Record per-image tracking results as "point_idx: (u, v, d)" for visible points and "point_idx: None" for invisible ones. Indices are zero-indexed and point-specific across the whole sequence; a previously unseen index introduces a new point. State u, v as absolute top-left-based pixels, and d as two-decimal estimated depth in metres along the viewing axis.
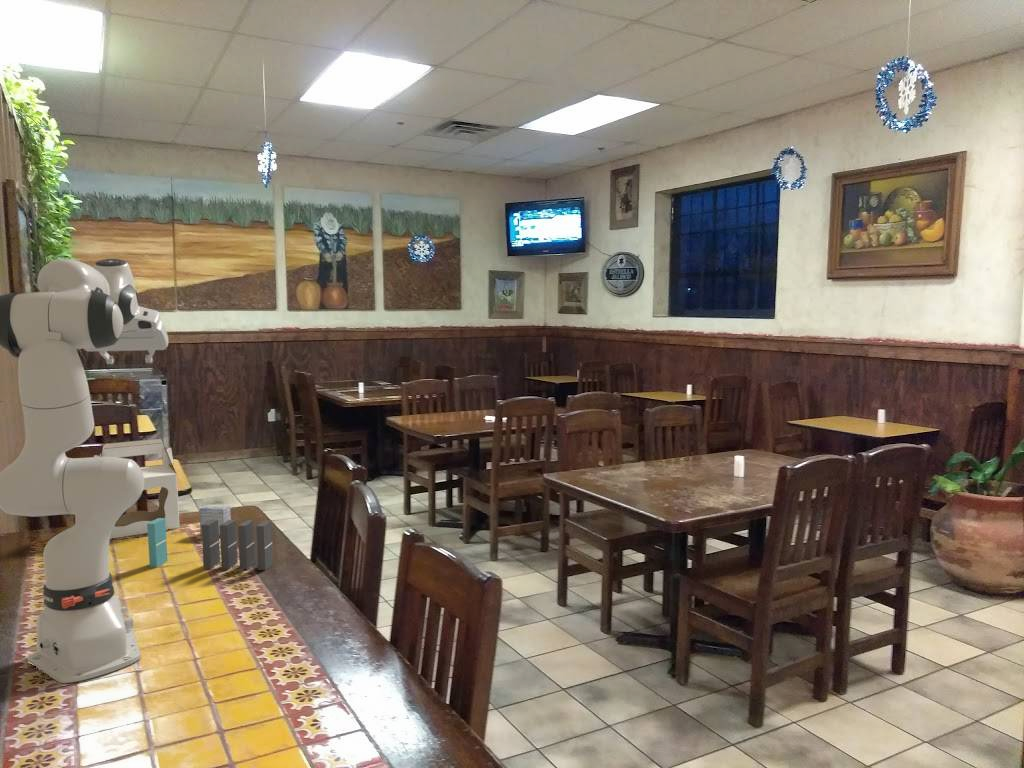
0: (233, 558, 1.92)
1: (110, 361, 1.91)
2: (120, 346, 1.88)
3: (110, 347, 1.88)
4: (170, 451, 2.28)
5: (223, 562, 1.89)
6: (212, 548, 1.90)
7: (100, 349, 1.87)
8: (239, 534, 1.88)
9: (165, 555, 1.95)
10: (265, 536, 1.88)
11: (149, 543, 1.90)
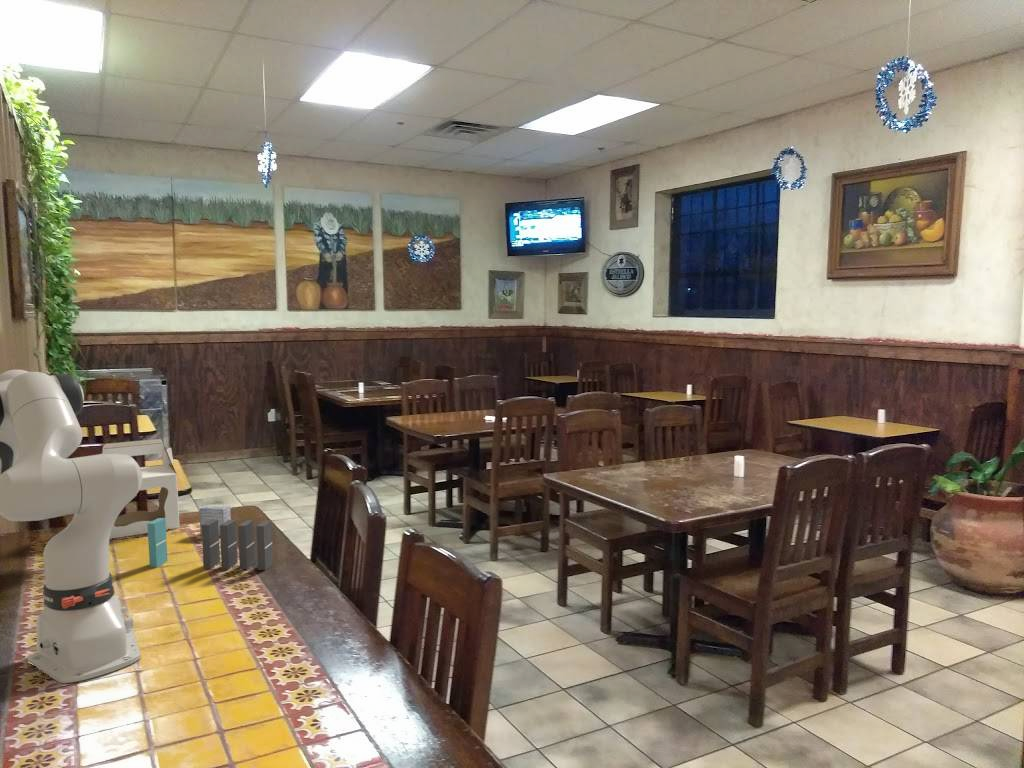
0: (233, 558, 1.92)
1: None
2: None
3: None
4: (170, 451, 2.28)
5: (223, 562, 1.89)
6: (212, 548, 1.90)
7: None
8: (239, 534, 1.88)
9: (165, 555, 1.95)
10: (265, 536, 1.88)
11: (149, 543, 1.90)
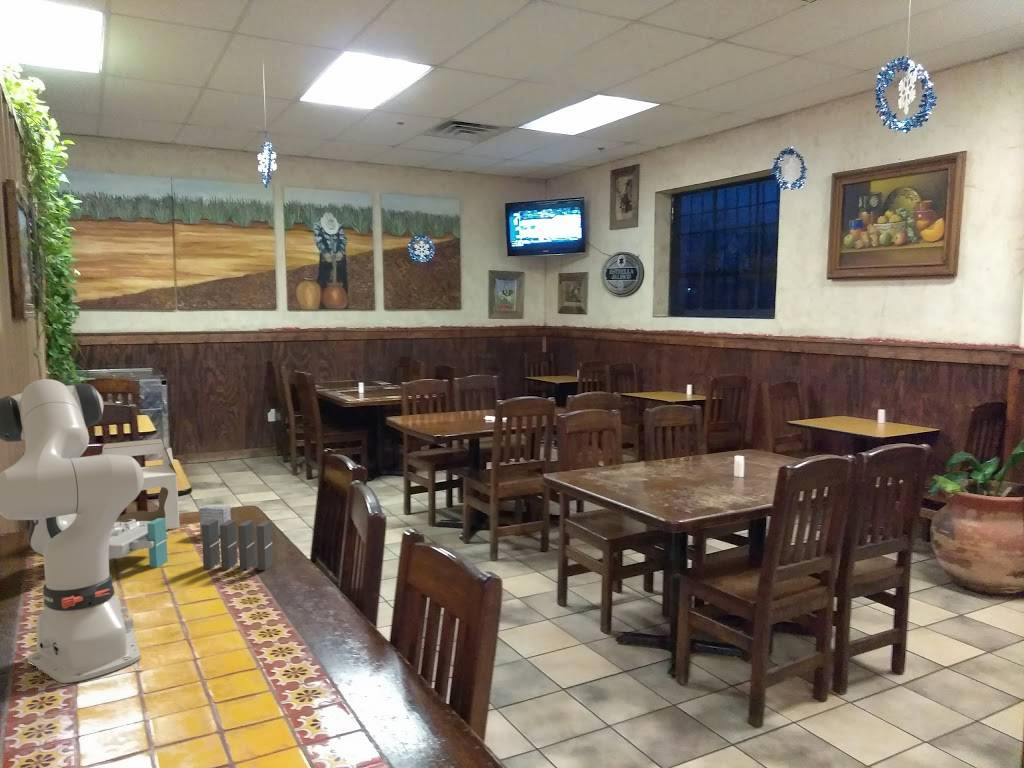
0: (233, 558, 1.92)
1: (150, 540, 1.90)
2: (135, 534, 1.92)
3: (131, 537, 1.89)
4: (170, 451, 2.28)
5: (223, 562, 1.89)
6: (212, 548, 1.90)
7: (127, 540, 1.87)
8: (239, 534, 1.88)
9: (165, 555, 1.95)
10: (265, 536, 1.88)
11: None
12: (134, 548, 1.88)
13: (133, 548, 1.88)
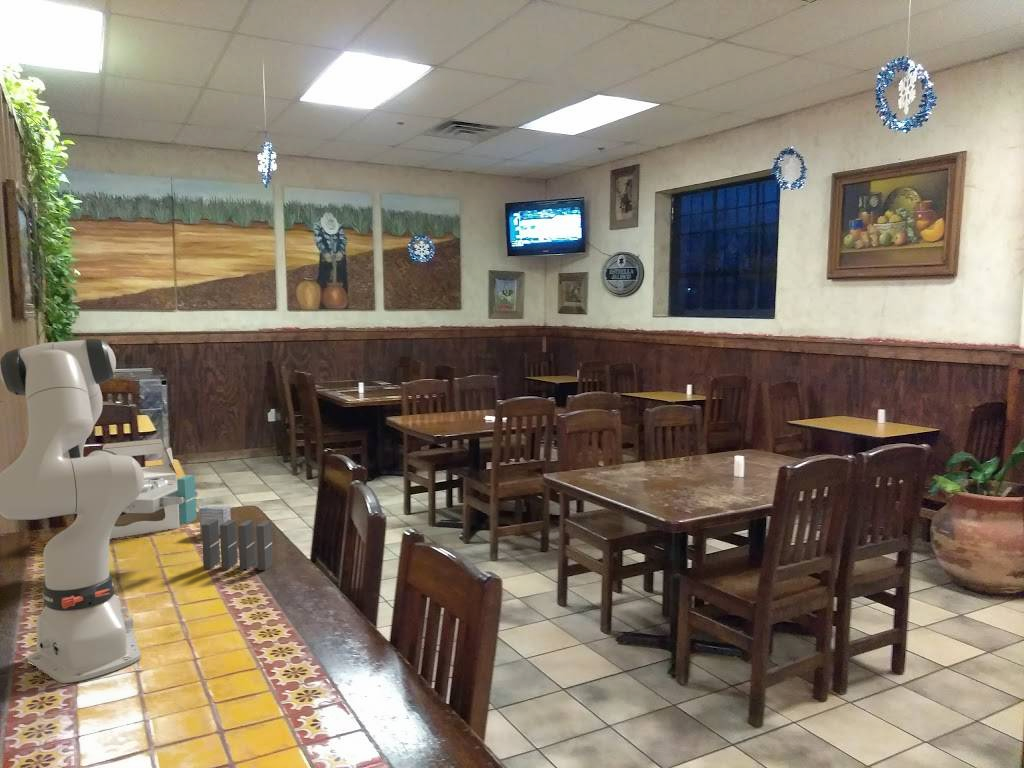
0: (233, 558, 1.92)
1: (180, 496, 1.88)
2: (165, 491, 1.90)
3: (161, 493, 1.87)
4: (170, 451, 2.28)
5: (223, 562, 1.89)
6: (212, 548, 1.90)
7: (157, 495, 1.85)
8: (239, 534, 1.88)
9: (194, 512, 1.93)
10: (265, 536, 1.88)
11: None
12: (164, 504, 1.86)
13: (163, 504, 1.86)
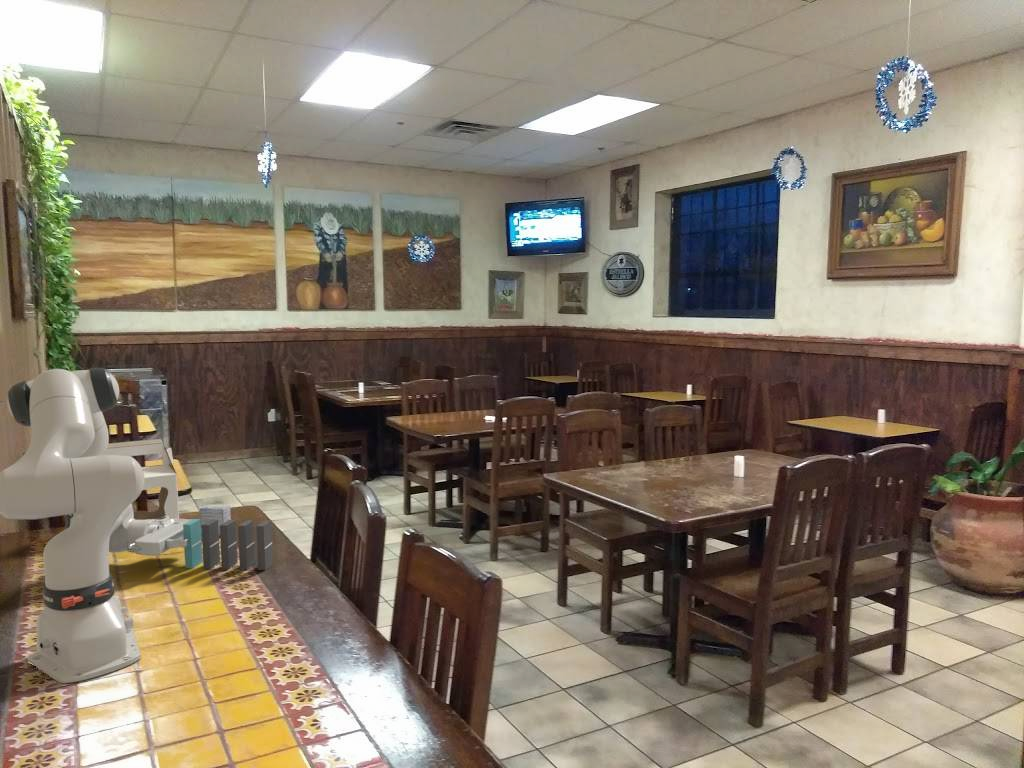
0: (233, 558, 1.92)
1: (183, 539, 1.88)
2: (171, 531, 1.91)
3: (167, 534, 1.89)
4: (170, 451, 2.28)
5: (223, 562, 1.89)
6: (212, 548, 1.90)
7: (163, 537, 1.86)
8: (239, 534, 1.88)
9: (200, 556, 1.94)
10: (265, 536, 1.88)
11: None
12: (168, 547, 1.86)
13: (167, 547, 1.86)
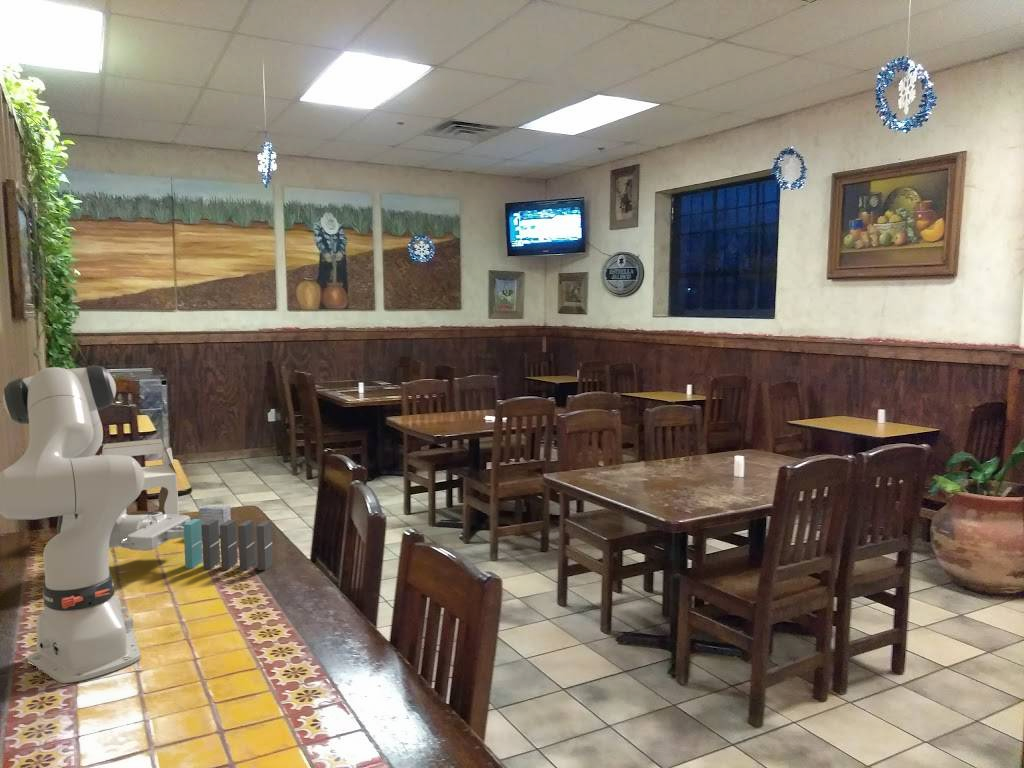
0: (233, 558, 1.92)
1: None
2: (164, 527, 1.91)
3: (159, 529, 1.88)
4: (170, 451, 2.28)
5: (223, 562, 1.89)
6: (212, 548, 1.90)
7: (156, 532, 1.86)
8: (239, 534, 1.88)
9: (200, 556, 1.94)
10: (265, 536, 1.88)
11: (185, 544, 1.89)
12: (168, 537, 1.90)
13: (167, 537, 1.90)
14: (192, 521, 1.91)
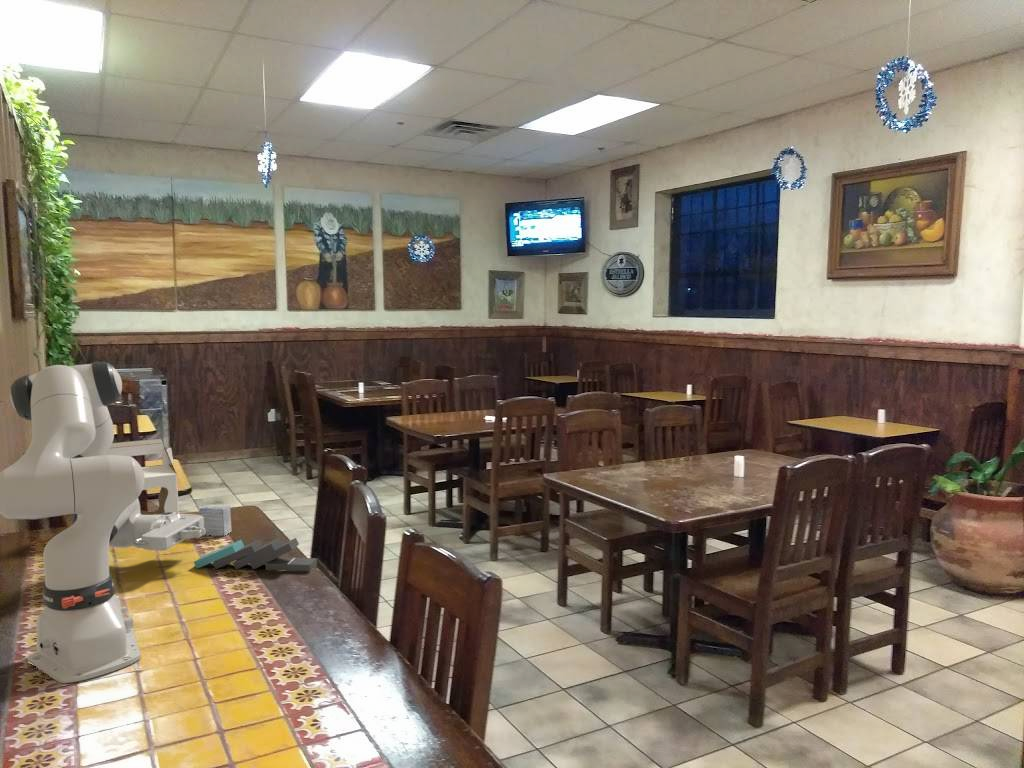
0: None
1: (198, 530, 1.91)
2: (178, 526, 1.91)
3: (173, 529, 1.88)
4: (170, 451, 2.28)
5: (239, 561, 1.89)
6: None
7: (170, 532, 1.86)
8: (281, 548, 1.87)
9: None
10: None
11: (215, 554, 1.89)
12: (182, 537, 1.89)
13: (181, 537, 1.89)
14: (238, 545, 1.91)
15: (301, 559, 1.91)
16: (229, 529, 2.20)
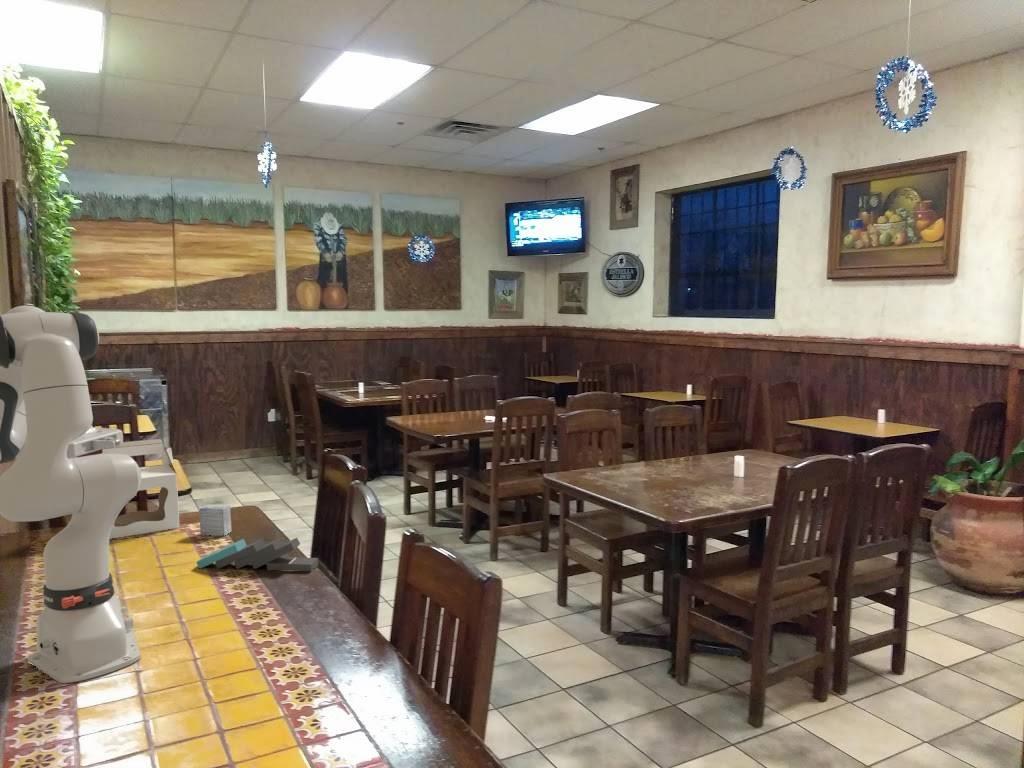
0: None
1: (112, 440, 1.79)
2: (90, 436, 1.79)
3: (85, 438, 1.77)
4: (170, 451, 2.28)
5: (240, 561, 1.89)
6: None
7: (80, 440, 1.74)
8: (283, 548, 1.88)
9: None
10: None
11: (217, 553, 1.89)
12: (95, 447, 1.78)
13: (94, 447, 1.78)
14: (241, 544, 1.91)
15: (302, 559, 1.91)
16: (229, 529, 2.20)
